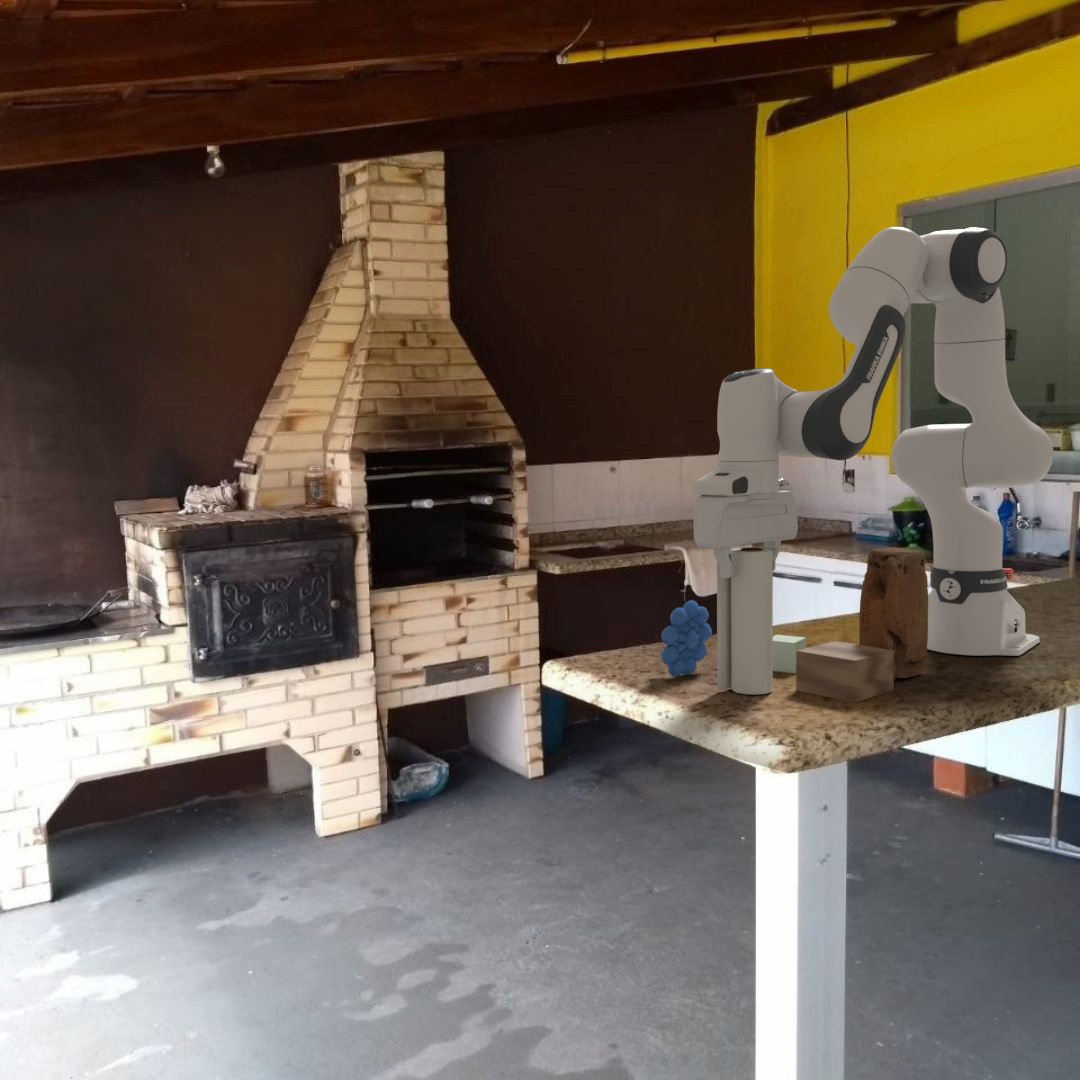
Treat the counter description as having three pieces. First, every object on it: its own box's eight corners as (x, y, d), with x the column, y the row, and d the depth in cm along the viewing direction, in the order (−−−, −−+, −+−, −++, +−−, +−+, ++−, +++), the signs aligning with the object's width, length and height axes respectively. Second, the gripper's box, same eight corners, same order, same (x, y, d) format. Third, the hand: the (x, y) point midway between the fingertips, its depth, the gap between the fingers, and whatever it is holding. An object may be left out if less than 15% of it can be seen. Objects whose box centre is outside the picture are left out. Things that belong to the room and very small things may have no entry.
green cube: (776, 664, 174) (776, 634, 174) (805, 667, 172) (806, 637, 171) (765, 670, 170) (765, 640, 170) (794, 673, 167) (794, 642, 167)
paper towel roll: (778, 689, 157) (778, 547, 155) (763, 698, 152) (763, 551, 150) (734, 683, 161) (733, 545, 159) (717, 692, 156) (716, 549, 154)
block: (889, 666, 170) (890, 544, 168) (932, 674, 165) (934, 547, 163) (851, 677, 163) (852, 550, 161) (895, 686, 158) (897, 553, 156)
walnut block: (835, 679, 163) (835, 641, 162) (893, 690, 155) (893, 650, 154) (796, 690, 156) (796, 650, 156) (855, 702, 149) (855, 660, 148)
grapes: (688, 665, 174) (687, 594, 173) (721, 671, 170) (720, 598, 168) (642, 677, 166) (641, 603, 165) (675, 684, 162) (675, 607, 160)
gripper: (773, 477, 163) (773, 566, 164) (685, 483, 149) (686, 579, 151) (808, 478, 158) (807, 569, 159) (720, 484, 145) (720, 583, 146)
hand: (747, 574), depth 155 cm, fingers open, 8 cm apart
